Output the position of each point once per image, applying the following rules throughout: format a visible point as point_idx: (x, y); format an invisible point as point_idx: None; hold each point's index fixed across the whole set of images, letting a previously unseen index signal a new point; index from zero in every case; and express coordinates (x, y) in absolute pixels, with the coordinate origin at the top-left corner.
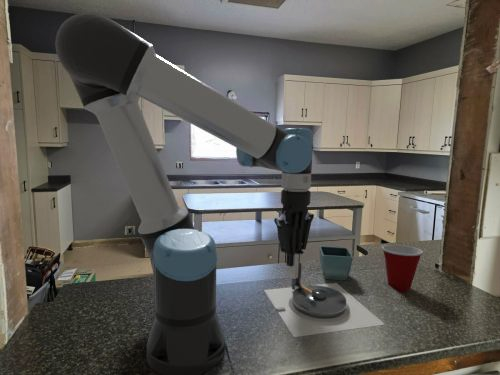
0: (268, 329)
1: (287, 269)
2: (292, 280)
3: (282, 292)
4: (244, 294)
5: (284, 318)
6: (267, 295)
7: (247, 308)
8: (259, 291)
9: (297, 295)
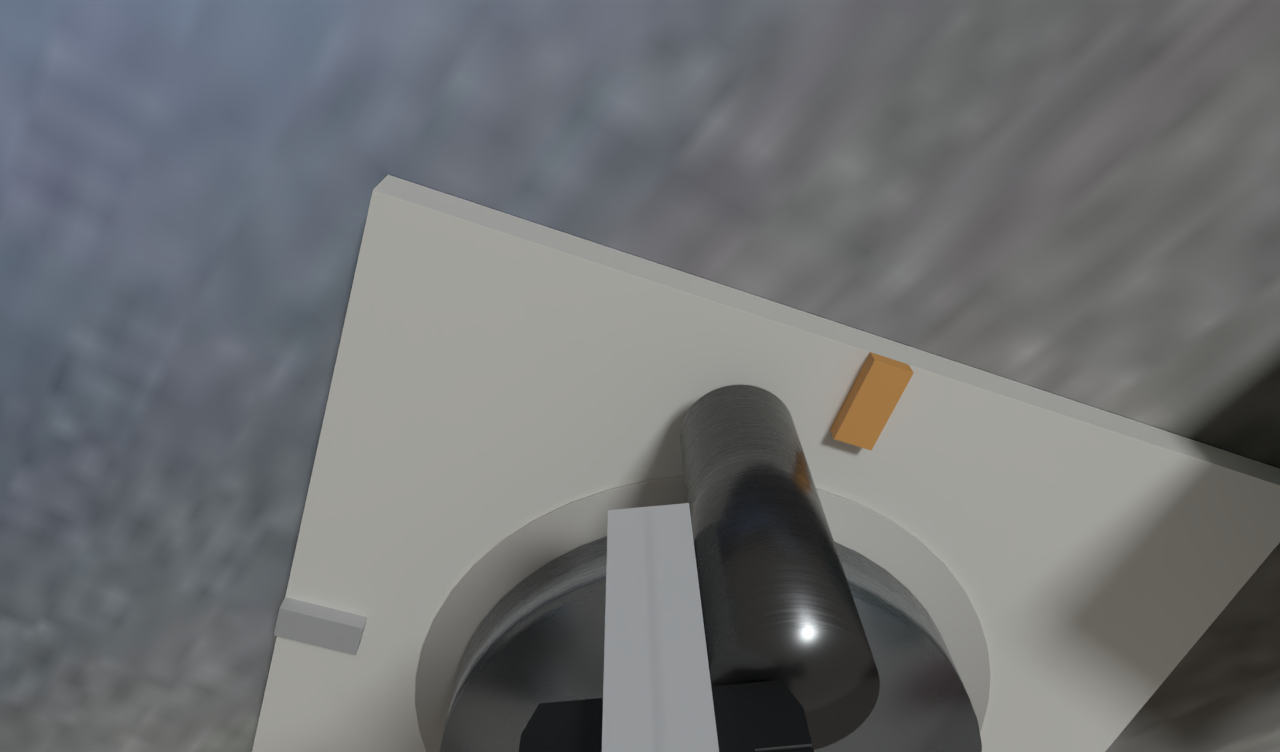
0: (130, 686)
1: (607, 583)
2: (686, 495)
3: (562, 365)
4: (128, 36)
5: (279, 722)
6: (342, 336)
7: (55, 355)
8: (372, 72)
9: (528, 689)
